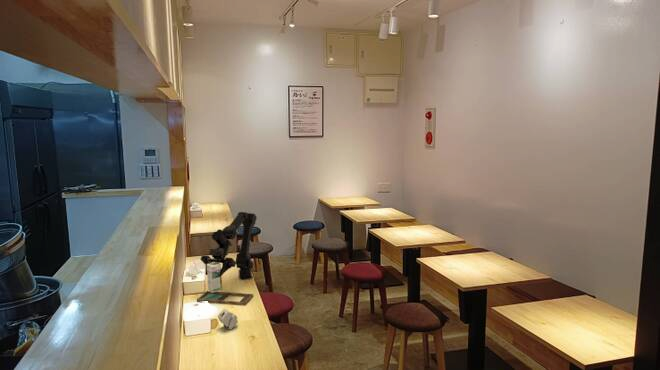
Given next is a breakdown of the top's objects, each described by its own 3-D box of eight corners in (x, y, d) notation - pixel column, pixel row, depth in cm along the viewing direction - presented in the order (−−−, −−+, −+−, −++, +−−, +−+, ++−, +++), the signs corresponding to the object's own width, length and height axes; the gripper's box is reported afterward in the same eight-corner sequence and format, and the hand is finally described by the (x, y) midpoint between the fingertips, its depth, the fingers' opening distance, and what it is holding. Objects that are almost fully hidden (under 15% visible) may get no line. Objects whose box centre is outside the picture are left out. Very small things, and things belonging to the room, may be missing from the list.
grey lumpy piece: (227, 328, 204) (213, 317, 199) (236, 316, 206) (223, 304, 201) (233, 333, 199) (219, 321, 194) (242, 320, 202) (229, 309, 197)
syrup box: (212, 293, 229) (210, 266, 227) (207, 289, 234) (206, 263, 232) (222, 290, 232) (221, 264, 230) (218, 287, 237) (216, 261, 235)
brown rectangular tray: (253, 296, 236) (253, 294, 236) (245, 305, 225) (245, 302, 225) (207, 293, 241) (207, 290, 241) (197, 301, 230) (196, 299, 230)
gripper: (201, 240, 236) (190, 267, 227) (232, 243, 230) (222, 270, 222) (210, 250, 244) (199, 276, 236) (240, 253, 239) (230, 279, 230)
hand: (212, 275), depth 231 cm, fingers closed on syrup box, 8 cm apart
